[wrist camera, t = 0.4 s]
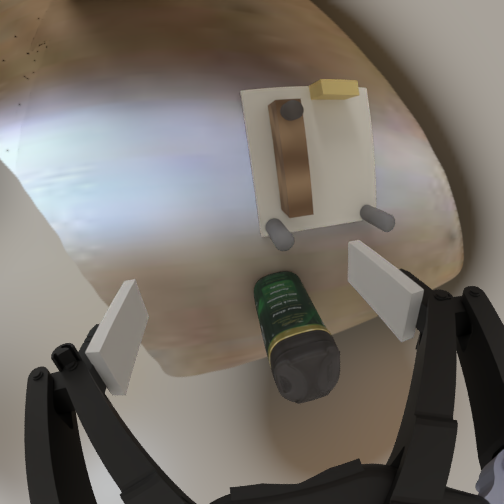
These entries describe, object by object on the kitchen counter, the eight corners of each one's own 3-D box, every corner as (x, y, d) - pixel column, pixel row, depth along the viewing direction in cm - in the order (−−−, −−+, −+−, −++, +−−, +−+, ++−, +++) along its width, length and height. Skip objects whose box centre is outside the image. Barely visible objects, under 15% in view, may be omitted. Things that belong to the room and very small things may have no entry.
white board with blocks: (240, 92, 31) (246, 79, 25) (361, 89, 33) (389, 81, 26) (260, 233, 39) (270, 253, 32) (371, 215, 40) (398, 230, 33)
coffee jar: (247, 277, 41) (268, 365, 24) (297, 264, 42) (347, 341, 25) (260, 326, 45) (283, 415, 28) (305, 314, 45) (346, 395, 28)
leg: (267, 105, 31) (278, 97, 25) (290, 103, 31) (305, 96, 25) (281, 209, 36) (293, 222, 31) (302, 206, 37) (318, 218, 31)
